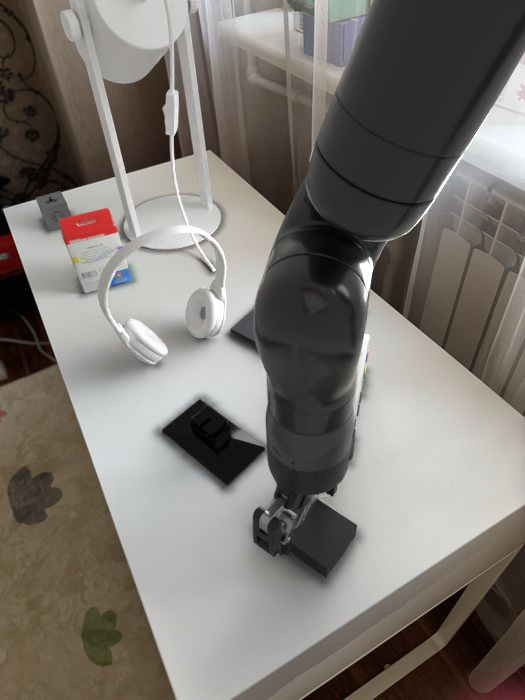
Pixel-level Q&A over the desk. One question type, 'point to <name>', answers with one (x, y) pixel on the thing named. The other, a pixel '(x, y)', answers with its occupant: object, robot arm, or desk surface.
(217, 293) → the headphones
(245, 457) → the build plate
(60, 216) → the dice cube
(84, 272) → the ink box
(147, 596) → the desk surface
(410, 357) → the desk surface
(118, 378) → the desk surface
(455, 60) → the robot arm
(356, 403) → the game controller
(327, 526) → the small pad
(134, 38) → the desk lamp
